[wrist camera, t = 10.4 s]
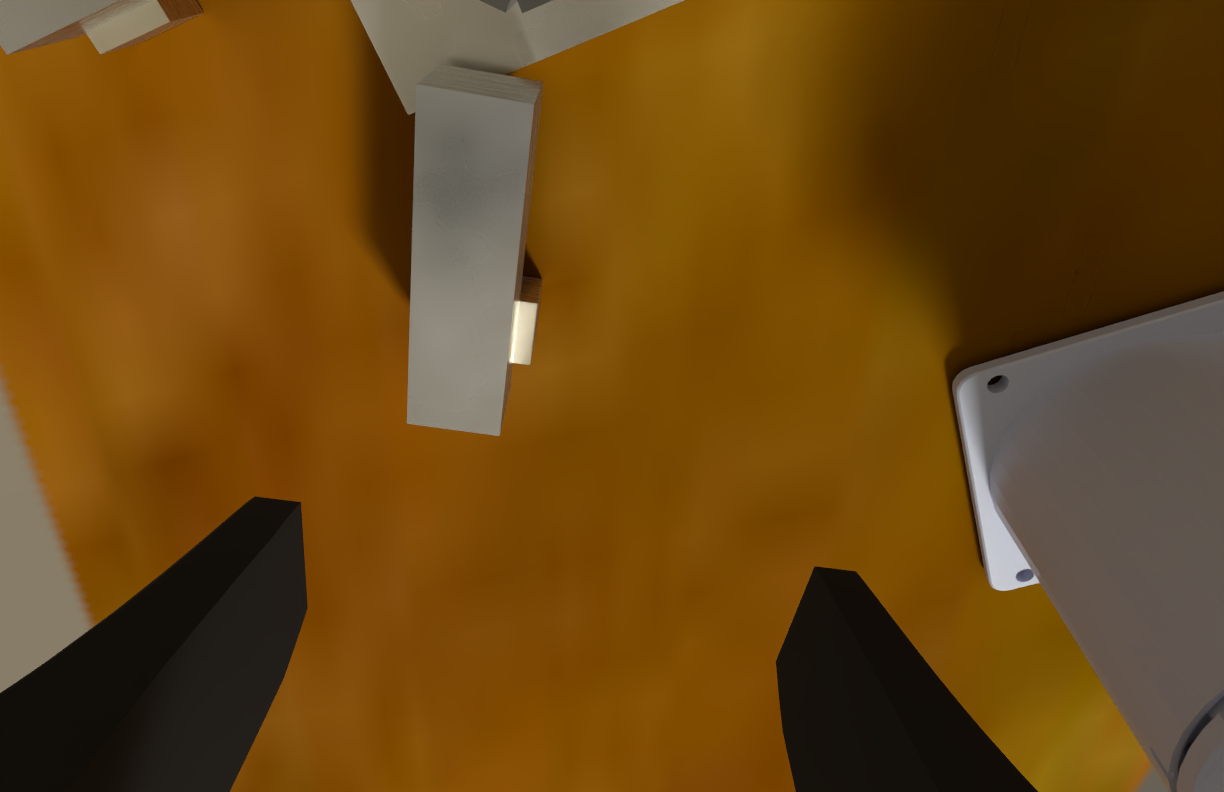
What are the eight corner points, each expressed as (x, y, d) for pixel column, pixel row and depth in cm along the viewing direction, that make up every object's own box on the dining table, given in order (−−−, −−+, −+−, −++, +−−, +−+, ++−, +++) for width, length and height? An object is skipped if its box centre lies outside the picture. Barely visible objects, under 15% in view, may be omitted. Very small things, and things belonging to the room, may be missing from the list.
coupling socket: (694, -803, 11) (723, -1069, 8) (897, 230, 18) (950, 292, 15) (-101, -308, 13) (-300, -366, 10) (366, 409, 21) (326, 491, 18)
